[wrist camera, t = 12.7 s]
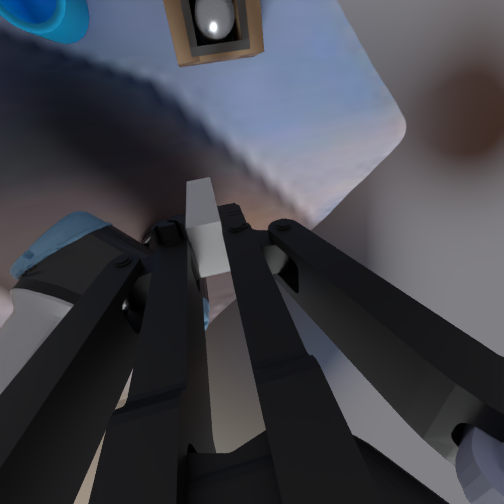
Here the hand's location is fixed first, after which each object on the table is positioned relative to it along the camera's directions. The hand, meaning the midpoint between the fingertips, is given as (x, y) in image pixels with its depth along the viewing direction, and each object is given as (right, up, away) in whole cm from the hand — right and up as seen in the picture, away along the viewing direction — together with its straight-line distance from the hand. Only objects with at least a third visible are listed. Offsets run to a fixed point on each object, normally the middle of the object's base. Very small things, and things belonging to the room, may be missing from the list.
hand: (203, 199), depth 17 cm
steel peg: (-3, +31, +21) cm, 37 cm away
